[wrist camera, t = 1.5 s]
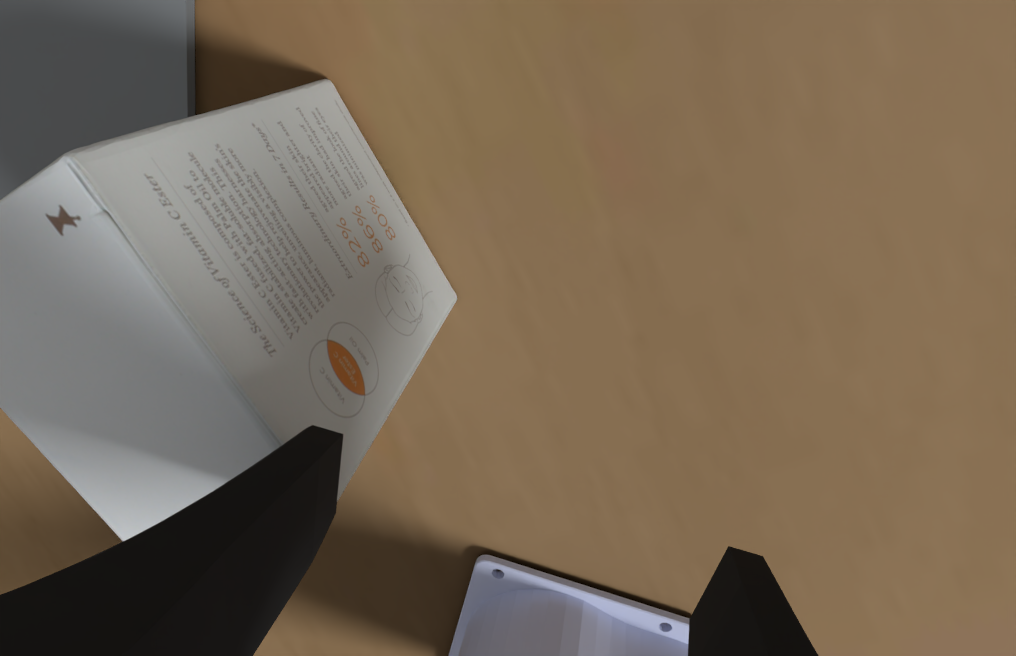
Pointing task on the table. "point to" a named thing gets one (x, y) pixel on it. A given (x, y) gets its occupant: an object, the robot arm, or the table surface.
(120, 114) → the mat
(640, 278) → the table surface
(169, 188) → the small box
